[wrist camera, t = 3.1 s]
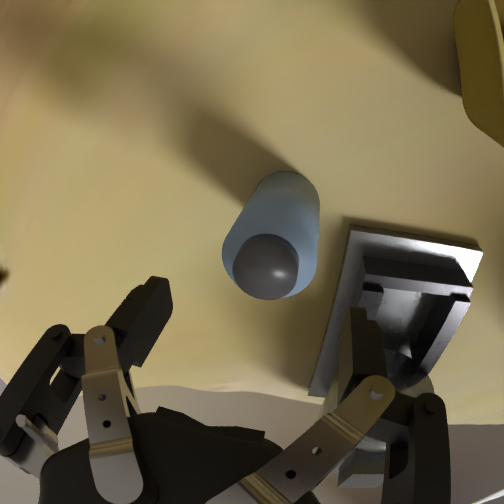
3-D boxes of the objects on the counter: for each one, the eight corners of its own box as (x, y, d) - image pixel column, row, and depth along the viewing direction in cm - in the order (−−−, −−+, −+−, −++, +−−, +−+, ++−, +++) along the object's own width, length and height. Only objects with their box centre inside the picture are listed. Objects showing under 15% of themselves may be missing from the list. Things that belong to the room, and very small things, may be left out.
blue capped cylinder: (254, 168, 21) (212, 221, 14) (323, 175, 21) (323, 235, 13) (252, 229, 24) (217, 304, 16) (315, 237, 23) (308, 319, 16)
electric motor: (350, 224, 22) (365, 366, 11) (479, 246, 20) (548, 365, 9) (305, 397, 35) (290, 492, 24) (392, 404, 33) (394, 494, 22)
